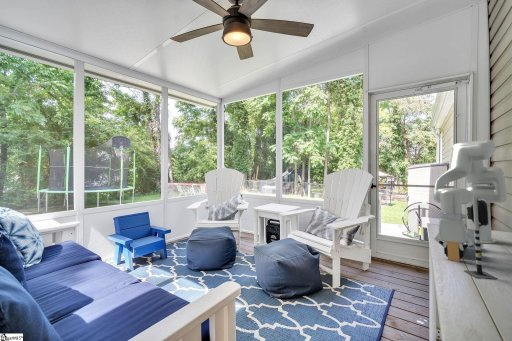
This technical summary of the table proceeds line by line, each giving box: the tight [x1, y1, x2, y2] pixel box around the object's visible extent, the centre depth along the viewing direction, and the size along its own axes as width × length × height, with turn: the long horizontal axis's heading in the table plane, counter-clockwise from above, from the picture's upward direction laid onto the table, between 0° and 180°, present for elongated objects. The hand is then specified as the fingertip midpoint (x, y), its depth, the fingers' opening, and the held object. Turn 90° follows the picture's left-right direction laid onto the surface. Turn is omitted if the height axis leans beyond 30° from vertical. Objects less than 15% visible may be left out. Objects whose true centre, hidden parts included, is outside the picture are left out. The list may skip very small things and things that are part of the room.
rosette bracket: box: [462, 227, 484, 261], centre depth 119 cm, size 26×11×10 cm, turn 134°
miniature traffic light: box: [463, 197, 498, 280], centre depth 93 cm, size 8×8×30 cm
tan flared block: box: [446, 241, 461, 263], centre depth 109 cm, size 4×5×9 cm
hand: (454, 256), depth 109 cm, fingers closed on tan flared block, 4 cm apart
